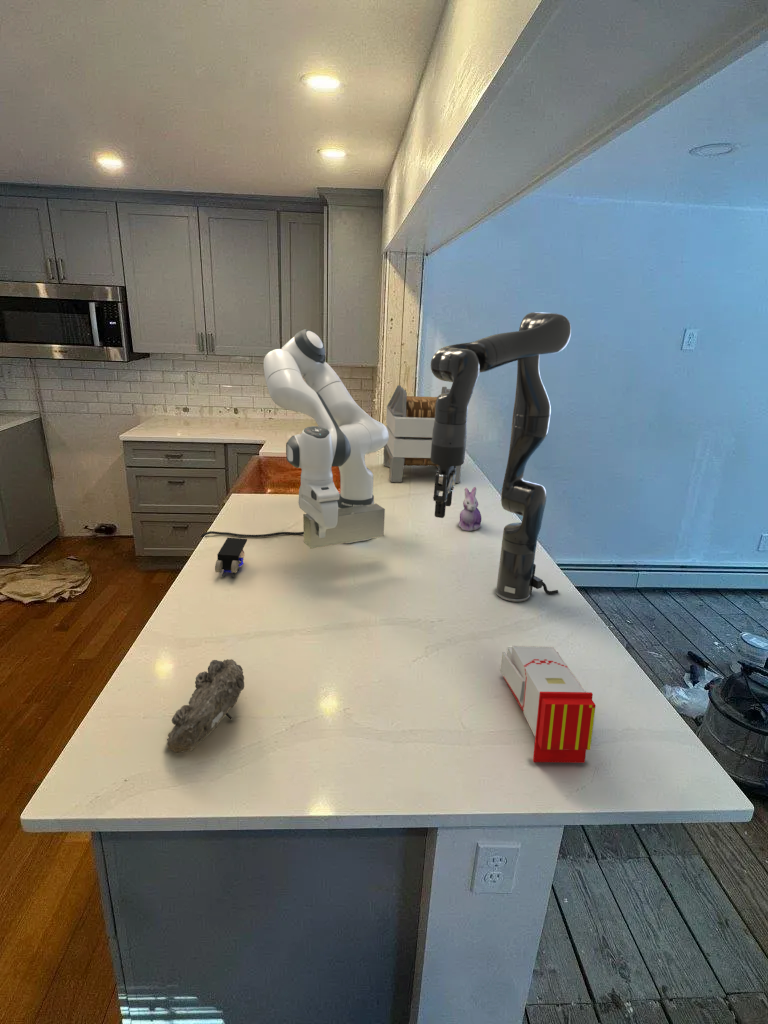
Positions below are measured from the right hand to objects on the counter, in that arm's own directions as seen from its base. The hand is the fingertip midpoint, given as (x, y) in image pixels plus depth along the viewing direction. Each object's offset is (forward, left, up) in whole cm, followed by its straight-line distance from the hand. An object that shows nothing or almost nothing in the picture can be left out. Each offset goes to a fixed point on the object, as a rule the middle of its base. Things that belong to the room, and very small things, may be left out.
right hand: (443, 511), depth 130 cm
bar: (+4, -40, -21) cm, 45 cm away
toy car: (+33, -55, -31) cm, 71 cm away
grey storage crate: (-80, -118, -31) cm, 146 cm away
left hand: (+13, -40, -18) cm, 46 cm away
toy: (0, +35, -31) cm, 47 cm away
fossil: (+56, +5, -31) cm, 65 cm away
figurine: (-55, -51, -31) cm, 81 cm away
